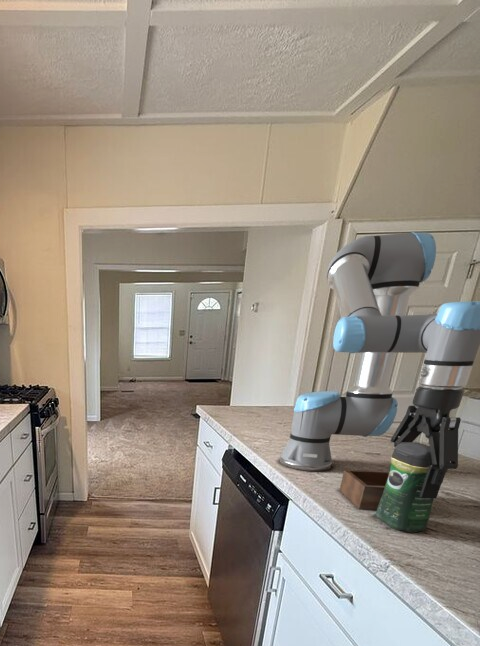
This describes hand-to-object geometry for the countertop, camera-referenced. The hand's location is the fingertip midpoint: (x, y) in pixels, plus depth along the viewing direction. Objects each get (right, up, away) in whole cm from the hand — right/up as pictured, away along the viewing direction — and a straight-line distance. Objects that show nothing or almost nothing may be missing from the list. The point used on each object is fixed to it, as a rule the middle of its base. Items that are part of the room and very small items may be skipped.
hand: (410, 485), depth 88 cm
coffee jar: (0, -9, +3) cm, 9 cm away
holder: (+5, -3, +16) cm, 17 cm away
